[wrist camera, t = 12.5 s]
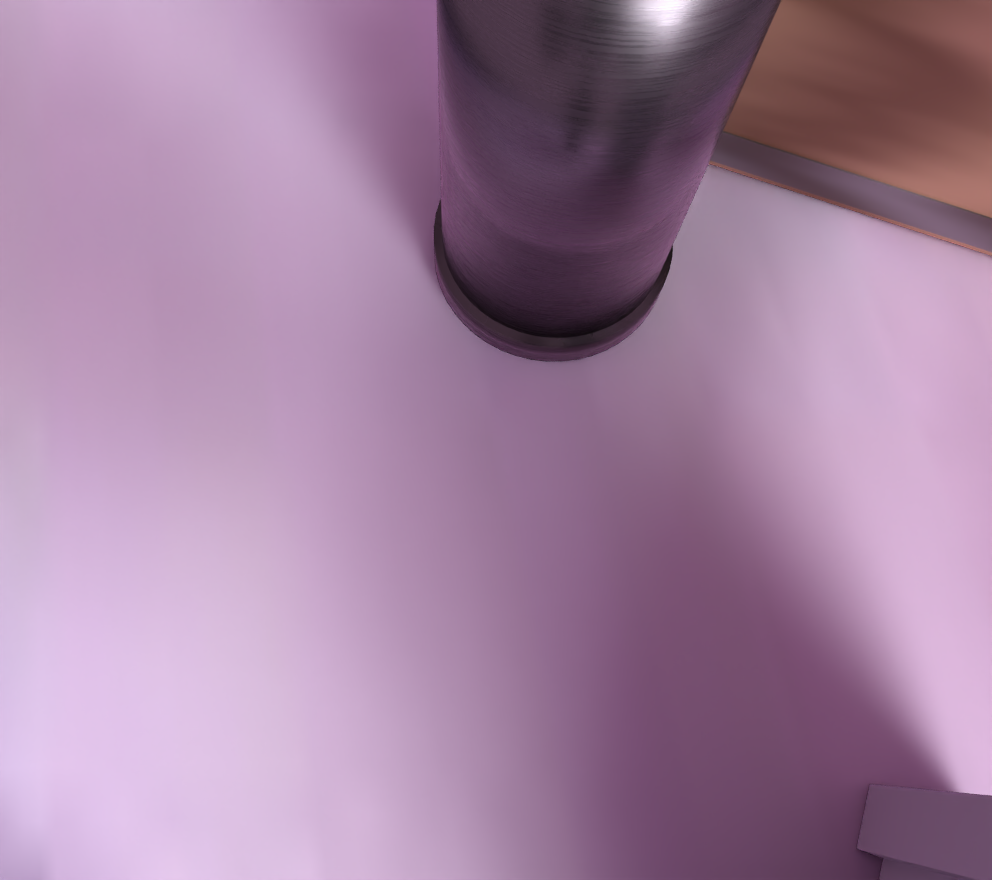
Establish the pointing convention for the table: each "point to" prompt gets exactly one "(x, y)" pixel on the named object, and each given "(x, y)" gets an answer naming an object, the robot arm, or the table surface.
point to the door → (874, 112)
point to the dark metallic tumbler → (576, 157)
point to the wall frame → (928, 833)
